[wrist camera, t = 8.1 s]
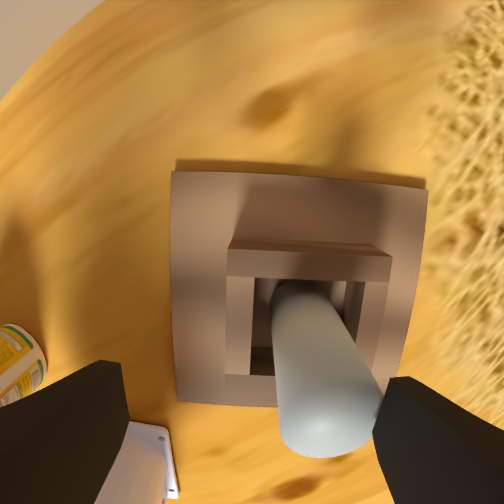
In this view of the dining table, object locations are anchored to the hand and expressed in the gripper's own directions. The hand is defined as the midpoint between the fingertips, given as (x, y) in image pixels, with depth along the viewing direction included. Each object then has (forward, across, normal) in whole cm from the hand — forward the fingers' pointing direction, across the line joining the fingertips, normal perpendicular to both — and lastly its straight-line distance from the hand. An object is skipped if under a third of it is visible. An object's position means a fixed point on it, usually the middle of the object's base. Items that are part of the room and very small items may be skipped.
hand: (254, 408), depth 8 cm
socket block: (+10, -2, +1) cm, 11 cm away
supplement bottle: (+11, +18, +7) cm, 22 cm away
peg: (+10, -2, +1) cm, 10 cm away
